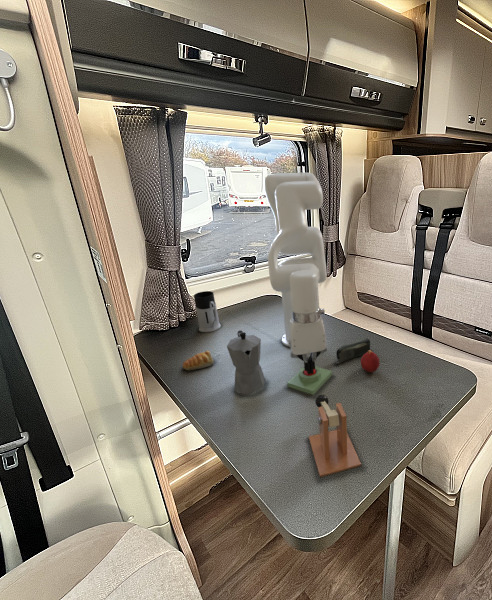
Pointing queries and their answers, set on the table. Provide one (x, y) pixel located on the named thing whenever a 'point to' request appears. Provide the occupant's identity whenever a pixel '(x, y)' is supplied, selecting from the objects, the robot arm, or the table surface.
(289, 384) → the control block
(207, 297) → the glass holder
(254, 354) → the coffeepot
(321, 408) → the switch bracket
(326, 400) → the switch lever
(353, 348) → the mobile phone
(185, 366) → the pastry
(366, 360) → the onion
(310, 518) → the table surface
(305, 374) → the button
